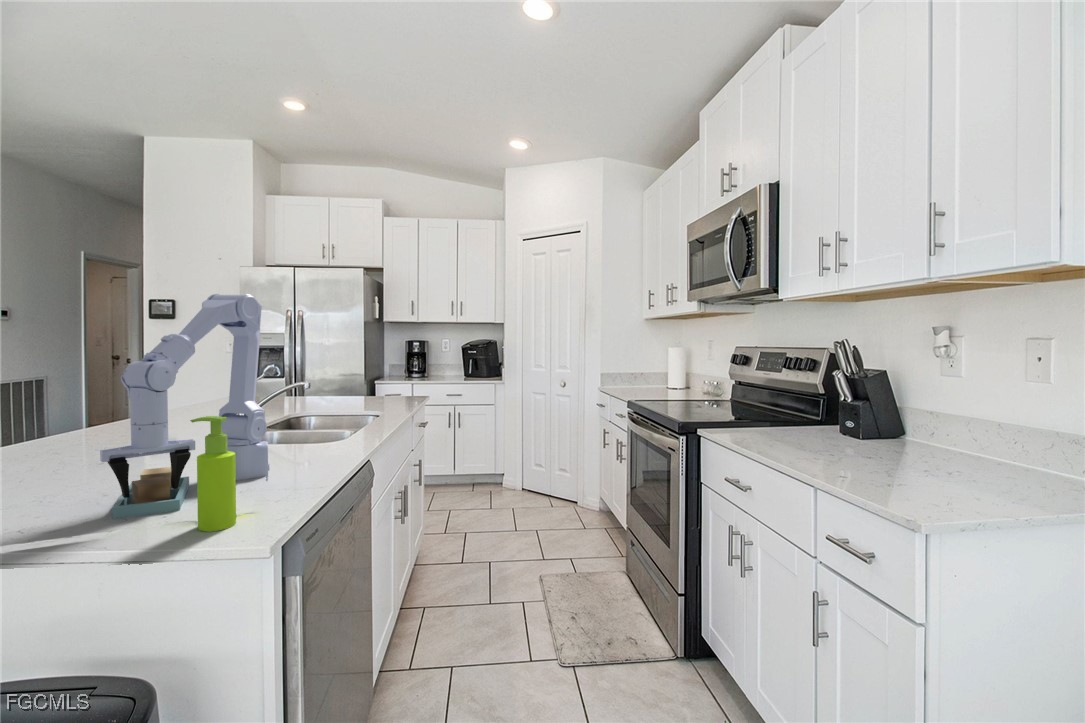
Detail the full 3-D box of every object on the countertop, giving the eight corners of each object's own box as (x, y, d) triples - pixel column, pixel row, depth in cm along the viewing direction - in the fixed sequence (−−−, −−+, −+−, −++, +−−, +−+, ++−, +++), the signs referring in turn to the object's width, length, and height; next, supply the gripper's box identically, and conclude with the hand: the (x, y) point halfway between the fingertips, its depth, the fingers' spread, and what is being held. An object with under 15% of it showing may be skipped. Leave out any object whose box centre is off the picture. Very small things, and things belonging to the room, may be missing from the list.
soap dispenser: (203, 519, 95) (202, 414, 94) (242, 519, 96) (241, 414, 95) (184, 531, 89) (182, 419, 88) (225, 531, 90) (224, 419, 89)
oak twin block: (174, 489, 109) (173, 466, 109) (171, 496, 105) (170, 472, 105) (145, 492, 107) (144, 469, 107) (140, 499, 103) (140, 475, 102)
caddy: (189, 489, 113) (189, 476, 112) (179, 515, 97) (179, 499, 97) (132, 496, 108) (131, 482, 107) (112, 523, 92) (112, 507, 92)
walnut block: (163, 500, 102) (162, 476, 102) (170, 506, 99) (169, 481, 99) (132, 506, 98) (131, 481, 98) (138, 512, 95) (137, 486, 95)
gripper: (187, 416, 106) (188, 480, 107) (96, 424, 95) (98, 495, 96) (198, 420, 101) (199, 487, 102) (103, 429, 90) (105, 504, 91)
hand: (150, 491), depth 98 cm, fingers open, 7 cm apart
